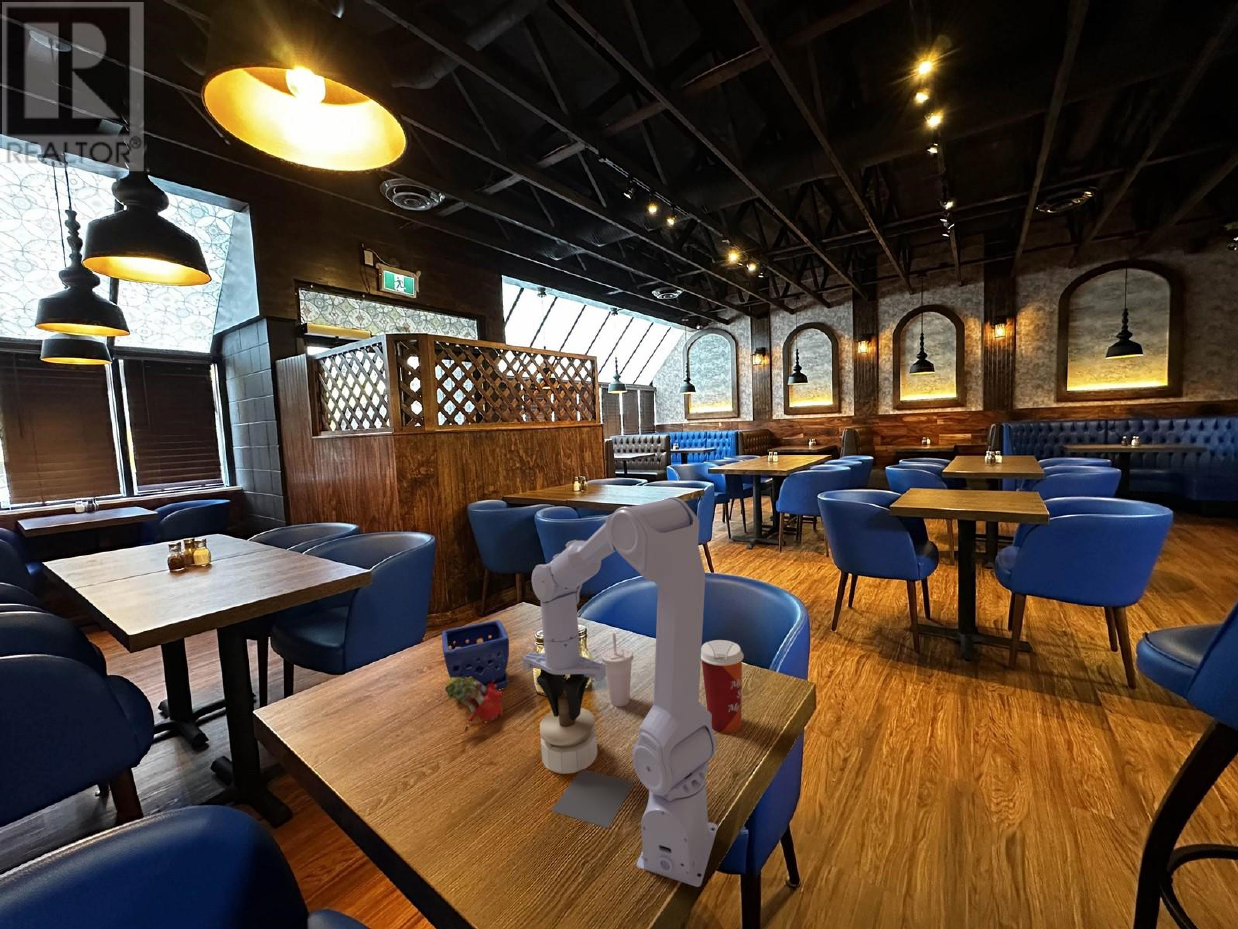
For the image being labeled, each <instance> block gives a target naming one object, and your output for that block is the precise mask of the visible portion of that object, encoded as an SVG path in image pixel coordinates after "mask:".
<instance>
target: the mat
mask: <svg viewBox="0 0 1238 929" xmlns="http://www.w3.org/2000/svg"><path fill="white" fill-rule="evenodd" d="M634 785H635V782H634V781H632V780H631V781H630V780H628V779H623V778H619V777H616V776H611V775H607V774H603V773H599V772H595V771H591V770H587V769H582V770H580V771H578V773H577V774H576V776H575V777H574V779H573V780H572V781H571V782H570V784H569V785H568V786H567V788H566V789H565V791H564V792H563V794H561V796H560V798H559V799H558V800H557V802H556V803H555V804H554V805H553V807H552V809H551V810H550V811H551V812H552V813H557V814H560V815H562V816H566V817H569V818H572V819H576V820H579V821H583V822H585V823H588V824H592V825H595V826H599V827H602V828H606V829H610V828H611V827H610V826H611V825H612V823H613V822H614V820H615V818H616V816H617V815H618V813H619V810H621V807H622V806H623V804H624V802H625V800H626V799H627V797H628V794H629V793H630V791H631V789H632V788H633V786H634Z"/></svg>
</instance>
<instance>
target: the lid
mask: <svg viewBox="0 0 1238 929" xmlns="http://www.w3.org/2000/svg"><path fill="white" fill-rule="evenodd" d="M558 711H559V716H558V717H555V716H554V714H553V712H552V711H551V712H549V713H548V714H546V715H544V717H543V718H542V719H541V720H540V723H539V733H540V734H539V735H540V738H541V737H542V739H543V740H544V741H546V742H547V743H550V744H553V745H558V746H566V745H572V744H576V743H579V742H581V741H583V740H585V739H587V738H588V737H589V736H590V735H591V734H592V733H593V731H594V729H595V727H596V718H595V714H593V712H591V711H590V710H588V709H585V708H583V707H581V711H580V715H579V716H578V717H577V718H576V720H571V719H570V715H569V703H568V698H567V694H566V691H565V692H564V691H563V693H561V694H559V695H558Z"/></svg>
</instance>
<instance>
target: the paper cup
mask: <svg viewBox="0 0 1238 929" xmlns="http://www.w3.org/2000/svg"><path fill="white" fill-rule="evenodd" d="M744 657H745V656H744V653H743V651H742V649H741V646H740V645H739V644H738V643H735V642H734V641H731V640H726V639H725V640H724V639H716V640H715V639H714V640H709V641H706V642H705V643H702V647H701V665H702V666H701V667H702V668H701V669H702V676H703V684H704V694H705V700H706V701H705V702H706V709H707V710H708V711H709V712H710V713H711V714H712V720H711V724H712V730H713V731H714V732H717V733H721V734H726V735H727V734H732V733H733V734H734V733H736V732H738V731H739V730H740V729H741V726H742V703H743V702H742V696H743V695H742V689H743V686H742V681H743V679H742V677H743V674H742V672H743V664H742V663H743V660H744Z"/></svg>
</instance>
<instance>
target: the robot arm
mask: <svg viewBox="0 0 1238 929" xmlns="http://www.w3.org/2000/svg"><path fill="white" fill-rule="evenodd" d="M605 518H606V519H605V522H604V523H603V524H602V525H601V527H599V528H598V529H597V530H596V531H595V532H594V533H593V534H592V535H591V536H590V537H589V538H588V539H587V540H577V539H573V540H570V541H568V542H567V543H566V544H565V547H566V548H565V549H564V550H563V551H561V553H560V552H559V553H557V554H555V555H553V556H552V560H551V561H550V562H549V563H545V564H543V563H542V564H537V565H535V567H534V569H533V570H532V574H531V585H532V590H533V592H534V594H535V597H536V598H537V599H538V600H539V601H540V610H541V621H542V622H541V626H542V634H543V635H542V637H543V648H544V649H543V650H544V652H543V653H542V652H541V653H540V652H538V653H537V652H529V653H527V654H526V655H525V656H523V657H522V661H523V662H522V663H523V669H524V670H531V669H537V670H540V673H539V675H538V676H537V677H536V683H537V685H539V687H540V688H541V689H542V691H543V692H544V694H545V696H546V698H547V700H548V703H549V705H550V706H549V707H550V708H551V712H553V714H554V716H555V717H558V716H559V711H558V695H559V694H561V693H564V690H565V692H566V694H567V698H568V703H569V715H570V719H571V720H576V718H577V717H578V716H579V715H580V711H581V708H582V703H583V698H584V695H585V691H586V687H587V685H588V682H589V680H590V678H591V679H594V680H595V681H596V682H602V681H603V680H604V679H606V665H605V664H603V663H602V662H597V661H595V660H592V659H591V658H587V657H585V656H583V655H581V649H580V648H581V647H580V633H579V621H578V608H577V605H578V604H579V602H580V592H581V589H582V587H583V584H584V583H586V582H587V581H588V580H589V579H591V578H593V577H594V576H595V575H596V574H598V572H599V571H600V570H601V565H602V560H603V559H605V558H607V557H609V556H610V555H612V554H613V553H615V552H617V553H618V554H619V555H620V556H621V557H622V558H623V559H624V560H625V561H626V562H627V563H628V564H629V565H630V566H631V567H632V568H633V569H634V570H636V571H637V573H638V574H639V575H641V576H642V577H643V578H644V579H645V580H646V581H650V582H654V584H655V585H656V587H657V604H656V605H657V606H656V631H655V632H656V635H655V654H654V655H655V657H654V658H655V660H654V680H653V681H654V683H653V704H652V706H651V708H650V710H649V711H648V713H647V714H646V716H645V718H644V719H643V720H642V721H641V724H640V726H639V728H638V738H637V740H636V742H635V743H634V746H633V749H632V762H633V767H634V770H635V773H636V775H637V777H638V779H639V781H640V782H641V784H642V785H643V786H644V787H645V789H647V790H648V801H647V805H646V808H645V811H644V813H643V815H642V818H641V821H640V823H641V824H640V828H641V829H640V830H641V845H642V846H641V847H642V850H641V854H640V855H639V857H638V860H637V862H636V867H637V868H638V869H642V870H645V871H649V872H651V873H654V874H657V875H660V876H663V877H666V878H668V879H671V880H675V881H677V882H681V883H684V884H686V885H687V884H688V885H690V886H694V887H696V888H698V887H700V886H701V885H702V882H703V879H704V876H705V872H706V869H707V866H708V862H709V859H710V855H711V851H712V848H713V845H714V842H715V838H716V835H717V832H718V824H717V823H714V822H710V821H709V820H708V819H709V818H708V801H707V800H708V799H707V783H706V774H707V772H709V761H710V760H711V759H713V758H714V756H715V754H716V751H717V740H716V737H715V734H714V730H713V729H712V724H711V720H712V714H711V713H710V712H709V711H708V710H707V707H705V705H703V704H702V703H701V702H699V698H700V697H699V696H700V678H701V676H700V675H701V665H702V659H701V648H702V646H703V643H702V642H703V627H704V626H703V625H704V609H705V608H704V607H705V594H706V592H705V590H706V588H705V587H706V571H705V567H704V562H703V560H702V555H701V551H700V546H699V536H700V533H699V532H700V519H699V517H698V516H697V515H696V514H695V512H694V511H693V510H692V509H691V508H690V507H689V505H688V504H687V503H686V502H685V501H684V500H683V499H682V498H679V497H675V496H670V497H667V498H664V499H661V500H655V501H651V502H647V503H642V504H638V505H632V506H621V507H619V508H616V510H615V511H614V512H613V513H611V514H609V515H607V516H606V517H605ZM565 675H569V677H568V678H567V679H565V680H564V677H565ZM712 829H714V830H712ZM699 874H700V875H701V876H699Z"/></svg>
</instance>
